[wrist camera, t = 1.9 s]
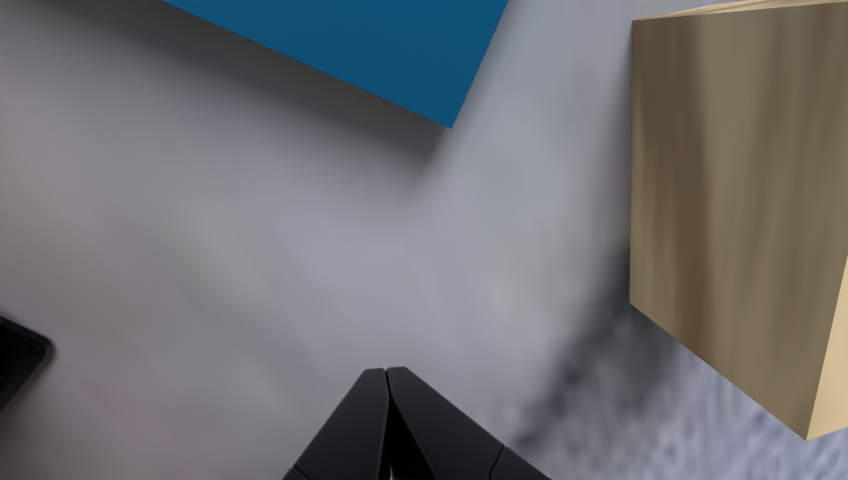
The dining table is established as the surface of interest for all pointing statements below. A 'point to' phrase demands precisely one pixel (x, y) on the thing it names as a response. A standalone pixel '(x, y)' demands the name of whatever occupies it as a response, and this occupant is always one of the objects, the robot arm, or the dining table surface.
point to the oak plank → (747, 197)
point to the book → (373, 42)
